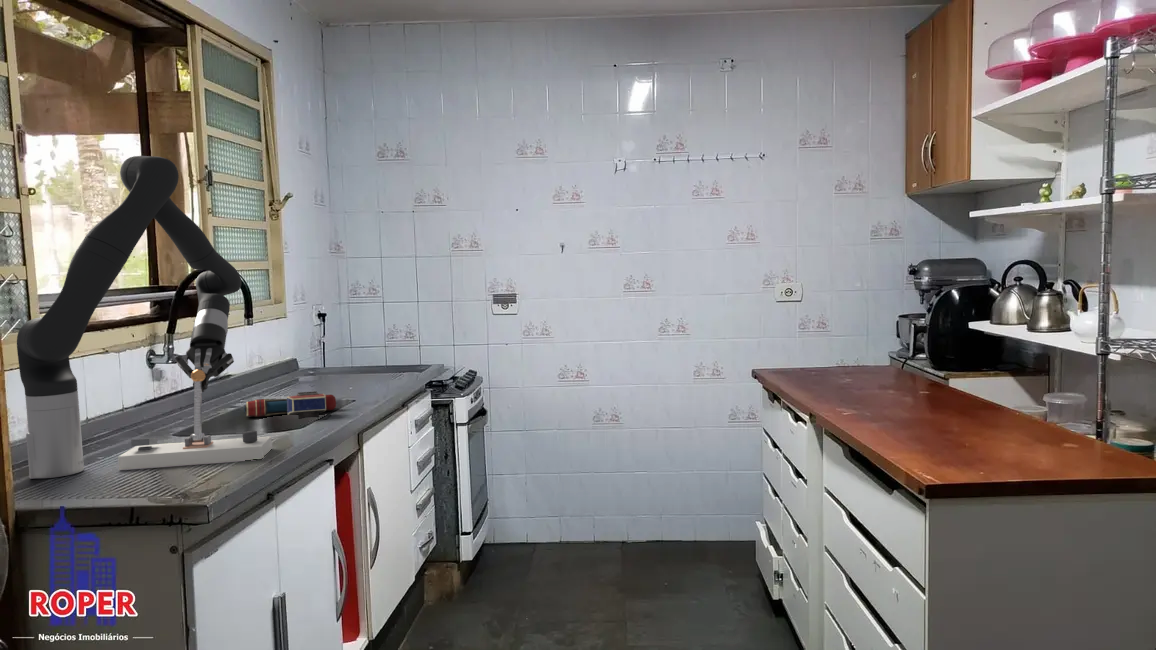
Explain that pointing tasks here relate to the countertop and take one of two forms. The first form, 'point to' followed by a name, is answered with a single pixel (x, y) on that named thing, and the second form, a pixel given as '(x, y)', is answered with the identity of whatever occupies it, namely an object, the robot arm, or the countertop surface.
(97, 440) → the countertop surface
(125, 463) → the control panel
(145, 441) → the rocker
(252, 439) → the push button
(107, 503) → the countertop surface
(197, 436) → the toggle lever
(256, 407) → the tool
